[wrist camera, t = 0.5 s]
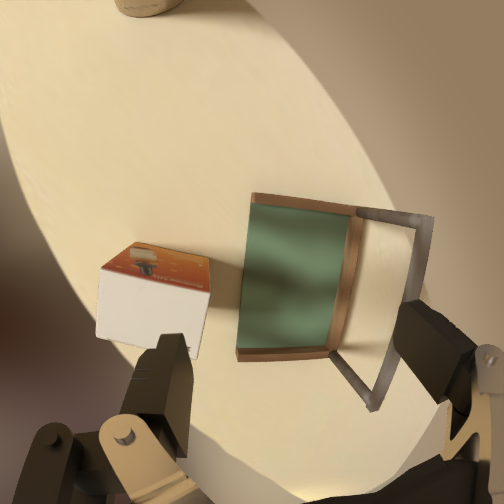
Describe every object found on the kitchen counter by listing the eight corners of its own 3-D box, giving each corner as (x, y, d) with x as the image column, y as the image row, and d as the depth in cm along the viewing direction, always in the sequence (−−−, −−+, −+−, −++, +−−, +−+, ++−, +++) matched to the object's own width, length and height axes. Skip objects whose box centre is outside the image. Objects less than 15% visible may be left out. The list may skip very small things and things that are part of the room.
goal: (252, 191, 27) (291, 189, 15) (356, 206, 30) (435, 217, 18) (235, 353, 31) (256, 431, 19) (329, 349, 33) (379, 410, 21)
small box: (209, 257, 28) (215, 292, 18) (198, 307, 29) (199, 362, 19) (133, 239, 26) (98, 265, 16) (126, 291, 27) (94, 338, 17)
